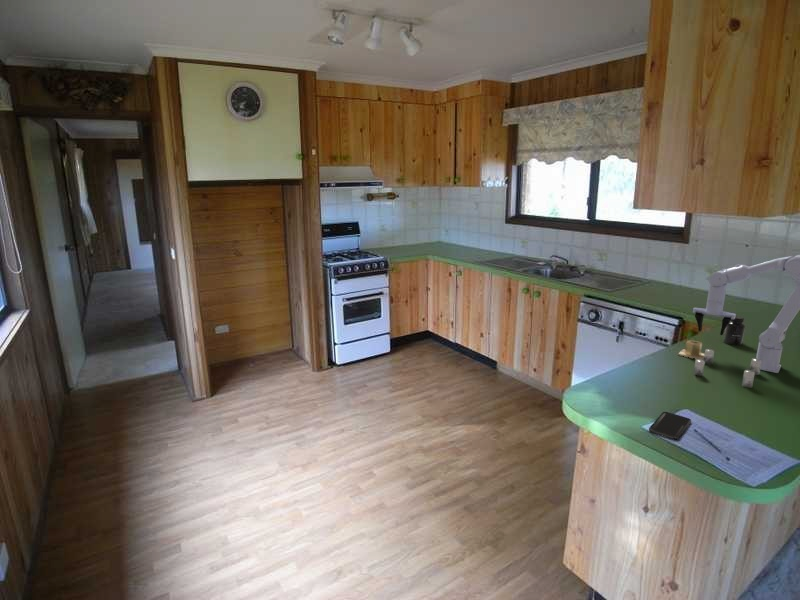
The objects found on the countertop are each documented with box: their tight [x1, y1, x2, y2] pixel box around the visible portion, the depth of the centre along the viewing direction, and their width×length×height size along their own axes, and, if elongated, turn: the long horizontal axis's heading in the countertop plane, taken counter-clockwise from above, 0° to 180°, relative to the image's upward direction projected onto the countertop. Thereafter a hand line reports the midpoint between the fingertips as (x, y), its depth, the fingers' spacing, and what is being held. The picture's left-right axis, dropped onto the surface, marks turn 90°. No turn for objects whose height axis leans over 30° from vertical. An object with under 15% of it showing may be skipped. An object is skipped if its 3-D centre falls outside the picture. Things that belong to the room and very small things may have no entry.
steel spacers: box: [692, 348, 762, 389], centre depth 176 cm, size 18×18×6 cm
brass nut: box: [685, 340, 703, 356], centre depth 194 cm, size 6×5×5 cm
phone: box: [648, 411, 692, 441], centre depth 140 cm, size 8×1×15 cm
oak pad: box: [677, 348, 705, 360], centre depth 195 cm, size 7×9×1 cm
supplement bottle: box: [723, 315, 746, 346], centre depth 208 cm, size 7×7×12 cm
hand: (710, 332), depth 194 cm, fingers open, 7 cm apart
